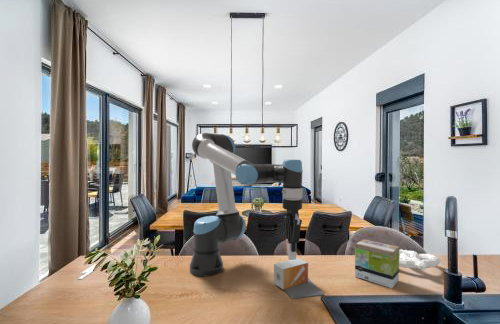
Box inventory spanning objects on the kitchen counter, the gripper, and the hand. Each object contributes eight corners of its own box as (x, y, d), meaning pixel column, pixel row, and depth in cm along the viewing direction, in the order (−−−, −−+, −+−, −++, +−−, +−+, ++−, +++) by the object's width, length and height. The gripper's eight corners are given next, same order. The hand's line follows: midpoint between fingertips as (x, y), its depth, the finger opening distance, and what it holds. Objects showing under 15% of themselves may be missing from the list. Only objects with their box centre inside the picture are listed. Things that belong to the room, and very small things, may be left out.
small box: (283, 269, 99) (308, 262, 106) (273, 263, 104) (297, 257, 111) (283, 290, 99) (308, 282, 106) (273, 283, 104) (297, 276, 111)
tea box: (354, 277, 111) (354, 243, 111) (362, 270, 119) (362, 238, 119) (393, 289, 101) (393, 251, 101) (399, 281, 108) (399, 245, 109)
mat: (277, 280, 108) (277, 279, 108) (306, 277, 111) (306, 276, 111) (291, 298, 93) (291, 297, 93) (324, 295, 96) (324, 293, 96)
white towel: (363, 263, 131) (362, 250, 132) (392, 257, 143) (391, 245, 144) (422, 277, 107) (420, 261, 108) (450, 268, 119) (449, 253, 119)
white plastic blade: (69, 280, 108) (69, 277, 108) (91, 266, 123) (91, 264, 123) (81, 280, 108) (81, 277, 108) (102, 266, 123) (102, 263, 123)
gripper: (277, 196, 107) (277, 253, 107) (289, 201, 94) (289, 266, 94) (294, 196, 109) (294, 252, 109) (308, 200, 96) (308, 264, 96)
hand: (292, 258), depth 101 cm, fingers closed
